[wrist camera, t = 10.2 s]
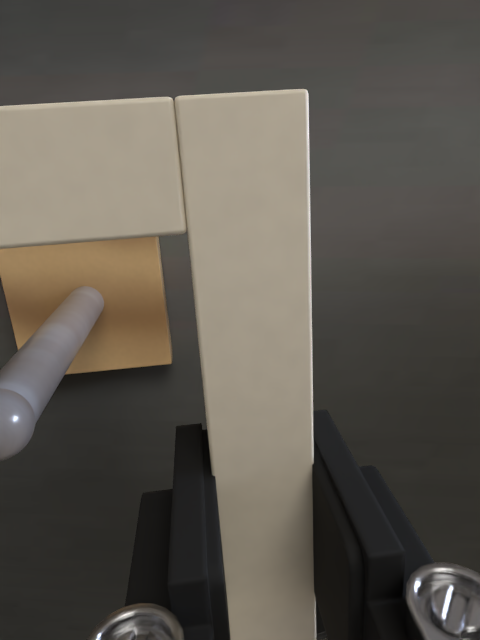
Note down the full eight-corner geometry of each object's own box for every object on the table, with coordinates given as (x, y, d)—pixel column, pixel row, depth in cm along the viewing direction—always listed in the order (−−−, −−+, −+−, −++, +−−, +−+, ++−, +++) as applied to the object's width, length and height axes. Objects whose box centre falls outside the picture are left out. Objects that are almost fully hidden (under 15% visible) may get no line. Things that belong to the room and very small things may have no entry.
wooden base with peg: (1, 227, 24) (-251, 312, 10) (156, 216, 24) (114, 281, 11) (33, 367, 26) (-133, 584, 13) (172, 353, 27) (156, 545, 13)
